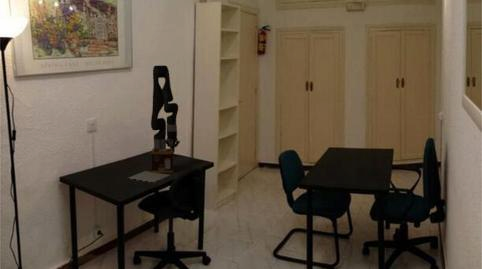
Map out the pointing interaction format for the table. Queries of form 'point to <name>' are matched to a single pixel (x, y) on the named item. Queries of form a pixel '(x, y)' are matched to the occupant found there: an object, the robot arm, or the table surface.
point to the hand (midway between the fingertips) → (172, 152)
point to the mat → (149, 176)
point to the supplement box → (162, 161)
